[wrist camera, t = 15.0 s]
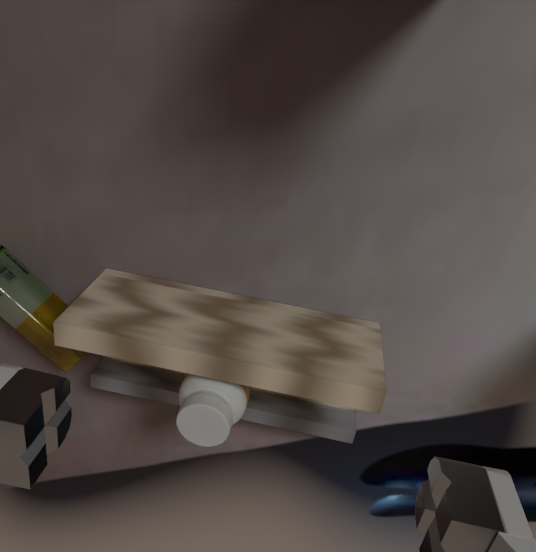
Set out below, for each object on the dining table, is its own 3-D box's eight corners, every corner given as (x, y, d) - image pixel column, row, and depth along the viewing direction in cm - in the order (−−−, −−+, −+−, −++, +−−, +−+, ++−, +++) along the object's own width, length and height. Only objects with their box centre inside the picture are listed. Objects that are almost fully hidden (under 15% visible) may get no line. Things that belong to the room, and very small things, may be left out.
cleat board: (106, 368, 49) (59, 434, 41) (106, 268, 44) (53, 322, 36) (350, 419, 48) (351, 499, 40) (379, 323, 43) (386, 391, 35)
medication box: (-15, 258, 46) (-46, 279, 42) (1, 242, 45) (-30, 261, 41) (85, 348, 49) (63, 374, 45) (101, 334, 48) (81, 360, 44)
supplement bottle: (237, 314, 43) (210, 385, 35) (272, 359, 45) (254, 438, 36) (189, 340, 45) (152, 413, 37) (224, 382, 47) (196, 462, 38)
